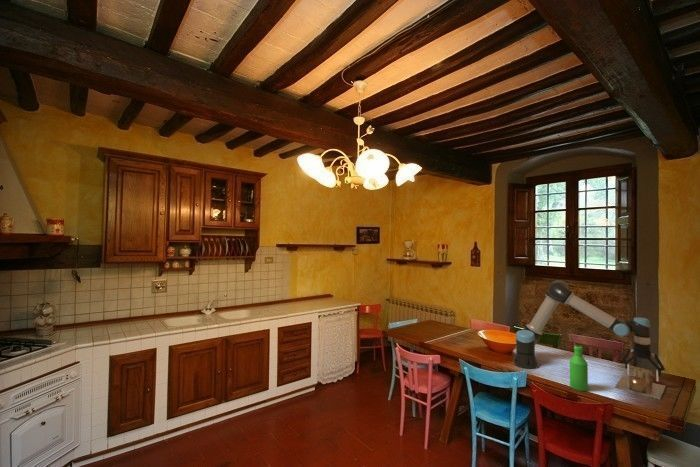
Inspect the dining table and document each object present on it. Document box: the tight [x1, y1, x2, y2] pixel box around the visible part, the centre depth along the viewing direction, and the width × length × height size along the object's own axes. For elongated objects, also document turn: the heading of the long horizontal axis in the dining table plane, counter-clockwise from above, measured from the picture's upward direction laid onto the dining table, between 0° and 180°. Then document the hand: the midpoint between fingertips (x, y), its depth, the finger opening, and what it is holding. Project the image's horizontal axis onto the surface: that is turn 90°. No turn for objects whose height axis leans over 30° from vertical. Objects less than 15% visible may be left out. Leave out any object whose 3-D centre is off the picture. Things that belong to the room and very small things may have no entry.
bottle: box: [569, 345, 589, 392], centre depth 198 cm, size 9×9×25 cm
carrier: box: [614, 375, 666, 400], centre depth 199 cm, size 25×20×8 cm
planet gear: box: [632, 367, 653, 385], centre depth 205 cm, size 9×9×7 cm
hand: (642, 377), depth 205 cm, fingers open, 13 cm apart
